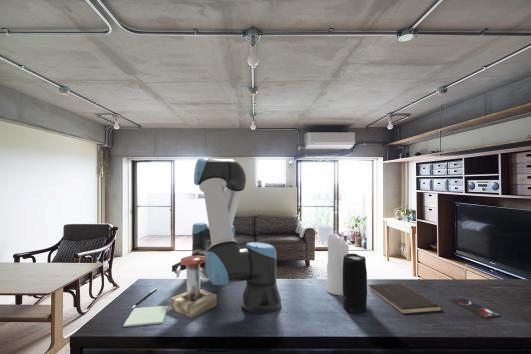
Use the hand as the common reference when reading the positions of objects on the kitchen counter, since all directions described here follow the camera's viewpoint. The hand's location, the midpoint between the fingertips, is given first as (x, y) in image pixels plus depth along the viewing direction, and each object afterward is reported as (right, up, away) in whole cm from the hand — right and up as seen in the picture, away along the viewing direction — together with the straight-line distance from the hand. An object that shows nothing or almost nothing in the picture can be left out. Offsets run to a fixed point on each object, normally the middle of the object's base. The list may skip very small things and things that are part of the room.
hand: (194, 273), depth 108 cm
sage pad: (-13, -10, -14) cm, 22 cm away
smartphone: (+106, -10, -9) cm, 107 cm away
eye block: (+2, -10, -7) cm, 13 cm away
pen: (-20, -11, +1) cm, 23 cm away
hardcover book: (+84, -11, -1) cm, 84 cm away
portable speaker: (+62, -10, -10) cm, 63 cm away
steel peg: (+2, -10, -7) cm, 13 cm away
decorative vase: (+61, -11, +8) cm, 62 cm away
